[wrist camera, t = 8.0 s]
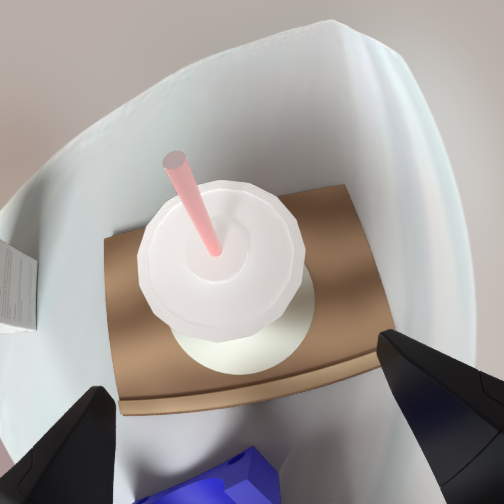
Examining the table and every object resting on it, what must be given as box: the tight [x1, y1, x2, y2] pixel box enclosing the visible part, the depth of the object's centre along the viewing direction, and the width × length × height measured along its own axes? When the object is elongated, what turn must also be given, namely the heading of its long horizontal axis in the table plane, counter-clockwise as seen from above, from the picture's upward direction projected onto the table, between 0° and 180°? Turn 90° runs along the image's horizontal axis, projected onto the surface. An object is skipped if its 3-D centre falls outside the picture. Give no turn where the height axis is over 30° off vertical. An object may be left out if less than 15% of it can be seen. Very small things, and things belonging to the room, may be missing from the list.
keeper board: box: [104, 184, 396, 416], centre depth 19 cm, size 14×20×2 cm
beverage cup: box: [137, 151, 306, 343], centre depth 12 cm, size 6×6×14 cm
